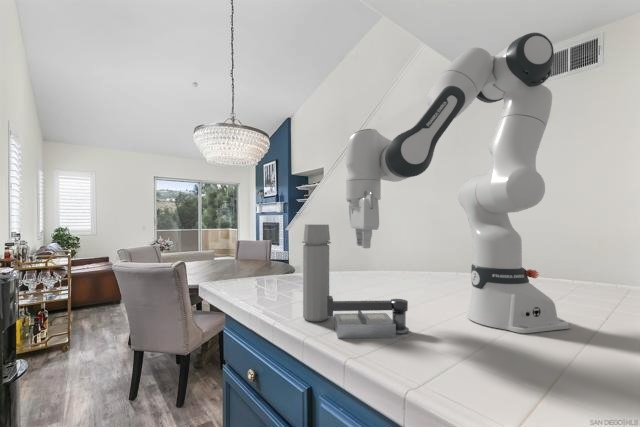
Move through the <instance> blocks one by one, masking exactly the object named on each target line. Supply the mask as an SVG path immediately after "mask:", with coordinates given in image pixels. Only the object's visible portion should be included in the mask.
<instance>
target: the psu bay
mask: <svg viewBox="0 0 640 427" xmlns="http://www.w3.org/2000/svg"><path fill="white" fill-rule="evenodd" d="M333 323H334V324H333V327H334V330H335V334H336V336H337V339H377V338H378V339H385V338H387V339H388V338H389V339H390V338H391V339H393V338H397V334H396V324H395V322H394V321H393V320H392V318H391V317H390V315H388V313H387V312H372V313H371V312H366V313H365V312H364V313H363V312H362V311H357V313H354V312H353V313H333Z"/></svg>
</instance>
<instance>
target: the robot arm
mask: <svg viewBox="0 0 640 427" xmlns="http://www.w3.org/2000/svg"><path fill="white" fill-rule="evenodd" d="M554 51H555V50H554V46H553V43H552V41H551V40H550V39H549V38H548V36H546V35H545V34H543V33H540V32H529V33H526V34H523V35H522V36H520V37H518V38H516V39H515V40H513V41H512V42H511V43H510V44H509V45H508V46H506V47H505V48H504V49H502V50H501V51H499V52H498V53H497V54H496V55H491V54H490V53H489V51H488V50H486V49H484V48H481V47H470V48H468V49H466V50H464V51H463V52H462V53H461V54H459V55H458V56H457V57H456V58H455V59H454V60H453V61H451V62H450V63H449V65H448V66H447V67H446V68H445V69H443V71H442V72H441V73H440V75H439V76H438V77H437V79H436V80H435V81H434V83H433V84H432V86H431V87H430V89H429V92H428V93H427V95H426V101H427V106H428V108H427V109H426V110H425V112H424V113H423V115H422V116H421V117H420V119H419V120H418V121H417V122H416V123H415V125H414V126H413V127H411V128H410V129H408V130H406V131H403V132H401V133H400V134H398V135H397V136H395V137H394V138H393V139H392V140H391V139H389V138H387V137H385V135H382V134H381V133H380V132H379V131H378V130H377V129H375V128H374V129H373V128H366V129H365V128H364V129H360V130H359V131H356V132H354V133H352V135H351V136H350V137H349V138H348V141H347V144H346V145H347V146H346V154H345V155H346V156H345V159H346V160H345V164H346V170H347V175H346V181H345V200H346V202H347V203H348V212H349V213H348V214H349V225H350V228H351V229H354V230H355V231H354V232H355V237H356V238H355V239H356V246H358V247H362V248H363V249H370V248H371V242H372V241H371V240H372V237H373V230H374V231H375V230H379V226H380V211H379V210H380V209H379V208H380V207H379V201H380V200H382V198H381V188H382V187H381V186H382V185H381V181H382V180H383V181H388V182H394V183H395V182H401V181H404V180H407V179H408V178H413V177H417V176H420V175H421V174H423V173H424V172H426V170H427V169H428V168H429V166H430V165H431V162H432V160H433V156H434V152H435V148H436V146H437V143H438V142H439V140H440V138H441V137H442V136H443V134H444V133H445V132H446V130H447V129H448V128H449V126H450V125H451V123H452V122H453V121H454V120H455V119H456V118H457V117H458V116H461V114H462V113H463V112H464V111H466V110H467V108H469V107H470V105H471V104H472V103H473V101H474V100H476V99H477V100H479V101H480V102H483V103H487V104H492V103H497V102H499V101H502V100H503V110H502V112H501V114H500V116H499V119H498V121H497V124H496V127H495V129H494V131H493V134H492V136H491V140H490V141H489V145H488V146H489V147H488V150H489V153H490V155H492V161H491V167H490V169H489V170H488V172H487V173H483V174H480V175H476V176H473V177H471V178H470V179H468V180H467V181H465V182H464V183H463V184H462V185H461V186H460V187H459V189H458V192H457V200H458V202H459V205H460V206H461V207H462V209H464V212H465V214H466V216H467V220H468V223H469V228H470V230H471V231H470V232H471V237H472V238H471V239H472V264H471V266H470V268H471V270H470V271H471V272H470V273H471V286H472V287H471V288H472V289H471V290H472V291H471V297H470V302H469V303H470V304H469V308H468V312H467V314H466V317H467V318H468V320H470V321H472V322H474V323H477V324H479V325H483V326H487V327H490V328H496V329H502V330H507V331H511V332H514V333H518V334H531V333H539V332H540V333H541V332H548V331H549V332H551V331H559V330H568V329H570V328H571V327H570V324H569V322H567V321H566V320H564V319H562V318H560V317H559V316H558V314H557V308H556V304H555V303H554V301H553V299H551V297H549V296H548V295H547V294H545V293H544V292H542V290H540V289H538V288H537V287H535V285H533V284H532V283H530V279H529V278H532V279H538V277H539V275H540V274H539V272H538V271H537V270H536V269H525V267H523V258H522V257H523V255H522V254H523V253H522V251H523V250H522V249H523V248H522V245H523V244H522V242H523V241H522V237H521V235H520V234H519V232H518V231H516V229H515V228H514V227H513V225H512V223H511V220H510V218H509V213H510V214H511V213H519V212H521V211H525V210H528V209H530V208H534V207H536V206H537V205H538V204H540V203H541V201H542V200H543V198H544V196H545V194H546V193H545V192H546V184H545V180H544V178H543V176H542V175H541V174H540V173H539V172H538V171H537V166H536V164H537V162H536V160H537V154H538V150H539V148H540V144H541V142H542V139H543V136H544V134H545V131H546V127H547V125H548V122H549V118H550V115H551V110H552V105H553V104H552V103H553V93H552V91H551V90H550V88H548V87H547V86H545V85H544V83H545V82H546V81H547V80H548V79H549V78H550V75H552V69H551V67H552V65H553V63H554V57H555V56H554V55H555V54H554Z"/></svg>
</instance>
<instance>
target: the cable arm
mask: <svg viewBox="0 0 640 427" xmlns="http://www.w3.org/2000/svg"><path fill="white" fill-rule="evenodd" d="M408 304H409V302H408V300H406V299H402V298H391V299H390V300H334V298H333V296H332V295H329V296H327V315H328V317H329V318H331V317H332V318H334V312H354V311H355V312H358V311H361V312H362V311H366V312H367V311H368V312H369V311H396V312H406V313H407V312H408V309H409V308H408V307H409V306H408Z"/></svg>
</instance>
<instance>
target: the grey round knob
mask: <svg viewBox="0 0 640 427" xmlns="http://www.w3.org/2000/svg"><path fill="white" fill-rule="evenodd" d="M391 311H392V310H391ZM391 313H392V314H391V316H392V318H391V319H392V320H393V321H394V322H395V324H396V335H406V334H409V331H410V328H409V327H407V326H406V321H407V320H406V318H407V317H406V315H407V314H406V313H407V311H406V312H396V311H392V312H391Z"/></svg>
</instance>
